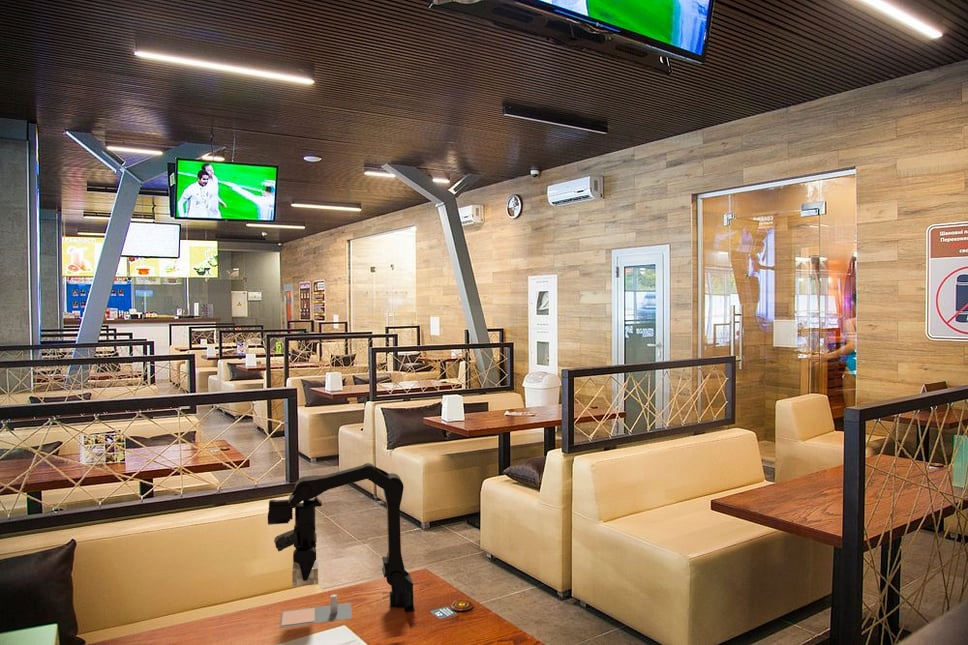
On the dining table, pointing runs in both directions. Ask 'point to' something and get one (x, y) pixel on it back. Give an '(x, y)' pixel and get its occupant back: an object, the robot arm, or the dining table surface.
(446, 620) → the dining table surface
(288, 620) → the stand board
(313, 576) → the beige square hollow block
